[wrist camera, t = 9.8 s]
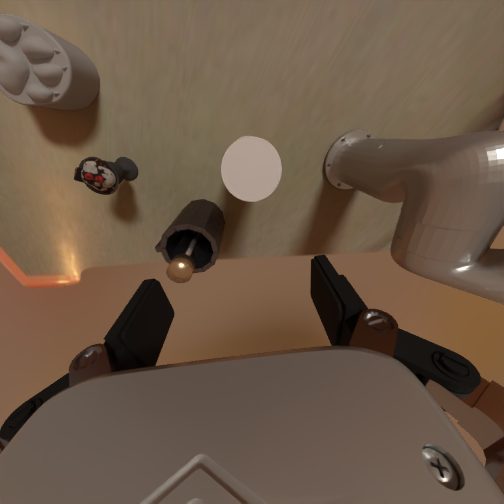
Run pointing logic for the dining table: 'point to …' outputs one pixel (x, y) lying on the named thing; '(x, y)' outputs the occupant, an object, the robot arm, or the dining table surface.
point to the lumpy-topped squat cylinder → (44, 67)
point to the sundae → (105, 173)
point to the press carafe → (179, 237)
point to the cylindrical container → (251, 168)
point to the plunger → (183, 263)
